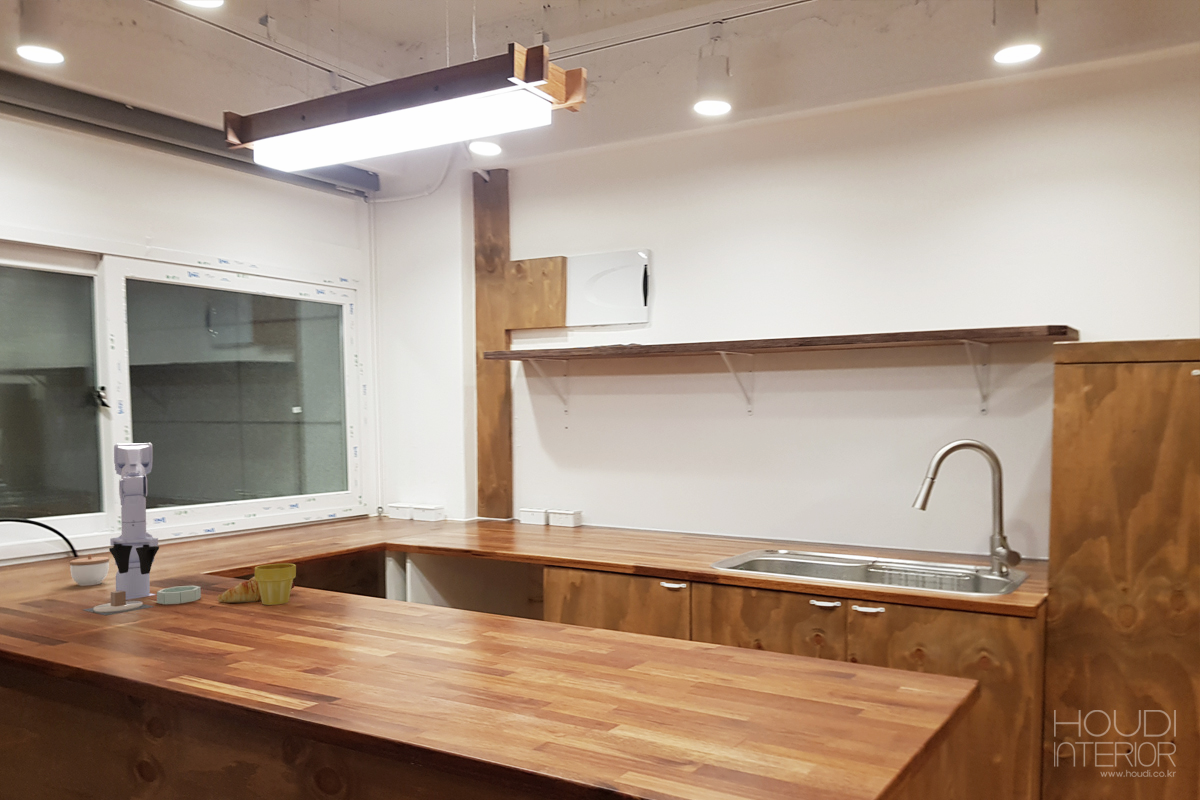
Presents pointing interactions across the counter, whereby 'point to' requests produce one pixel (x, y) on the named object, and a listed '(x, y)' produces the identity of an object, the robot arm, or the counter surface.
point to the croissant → (243, 592)
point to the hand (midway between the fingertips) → (134, 573)
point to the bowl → (178, 594)
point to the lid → (118, 603)
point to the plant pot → (275, 582)
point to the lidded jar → (89, 570)
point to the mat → (118, 612)
